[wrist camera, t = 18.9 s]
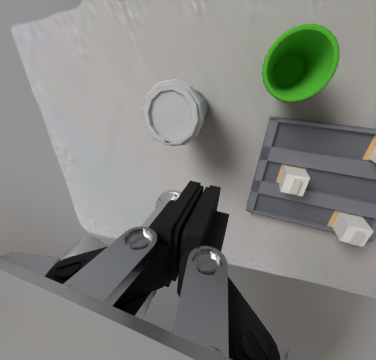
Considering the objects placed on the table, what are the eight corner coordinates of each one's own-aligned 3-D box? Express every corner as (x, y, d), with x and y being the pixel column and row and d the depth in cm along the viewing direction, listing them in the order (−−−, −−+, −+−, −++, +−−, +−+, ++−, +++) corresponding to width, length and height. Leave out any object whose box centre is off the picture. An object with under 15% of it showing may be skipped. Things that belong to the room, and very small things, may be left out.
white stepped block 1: (298, 185, 41) (303, 198, 36) (278, 181, 42) (280, 193, 37) (304, 168, 39) (311, 179, 34) (284, 164, 40) (287, 175, 35)
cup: (329, 64, 33) (358, 54, 23) (285, 108, 37) (295, 115, 28) (290, 28, 32) (303, 5, 23) (251, 78, 37) (248, 75, 28)
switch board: (366, 233, 42) (371, 241, 40) (246, 205, 49) (246, 210, 47) (431, 135, 32) (444, 139, 30) (270, 116, 39) (270, 118, 37)
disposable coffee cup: (174, 77, 42) (137, 73, 29) (223, 83, 39) (206, 82, 26) (171, 127, 47) (138, 142, 34) (214, 134, 44) (196, 154, 31)
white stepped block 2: (352, 231, 41) (365, 249, 37) (331, 226, 42) (341, 243, 38) (361, 216, 40) (376, 234, 35) (339, 211, 41) (350, 228, 36)
